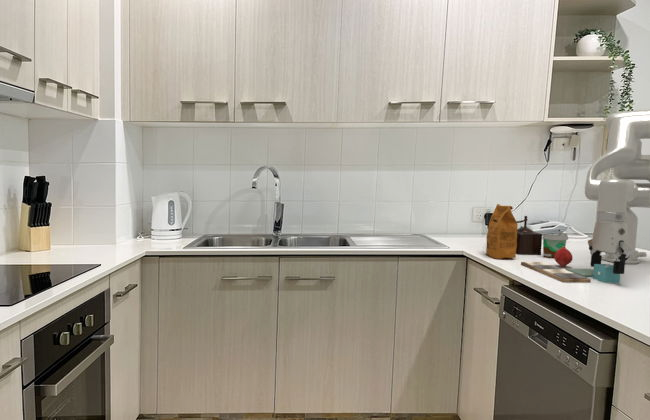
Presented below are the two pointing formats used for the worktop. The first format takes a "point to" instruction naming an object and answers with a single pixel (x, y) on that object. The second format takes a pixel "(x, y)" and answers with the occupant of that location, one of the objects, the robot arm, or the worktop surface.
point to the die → (605, 273)
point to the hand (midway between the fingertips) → (606, 270)
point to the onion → (563, 256)
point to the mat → (582, 272)
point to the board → (555, 272)
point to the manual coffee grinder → (528, 240)
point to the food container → (553, 244)
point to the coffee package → (502, 233)
